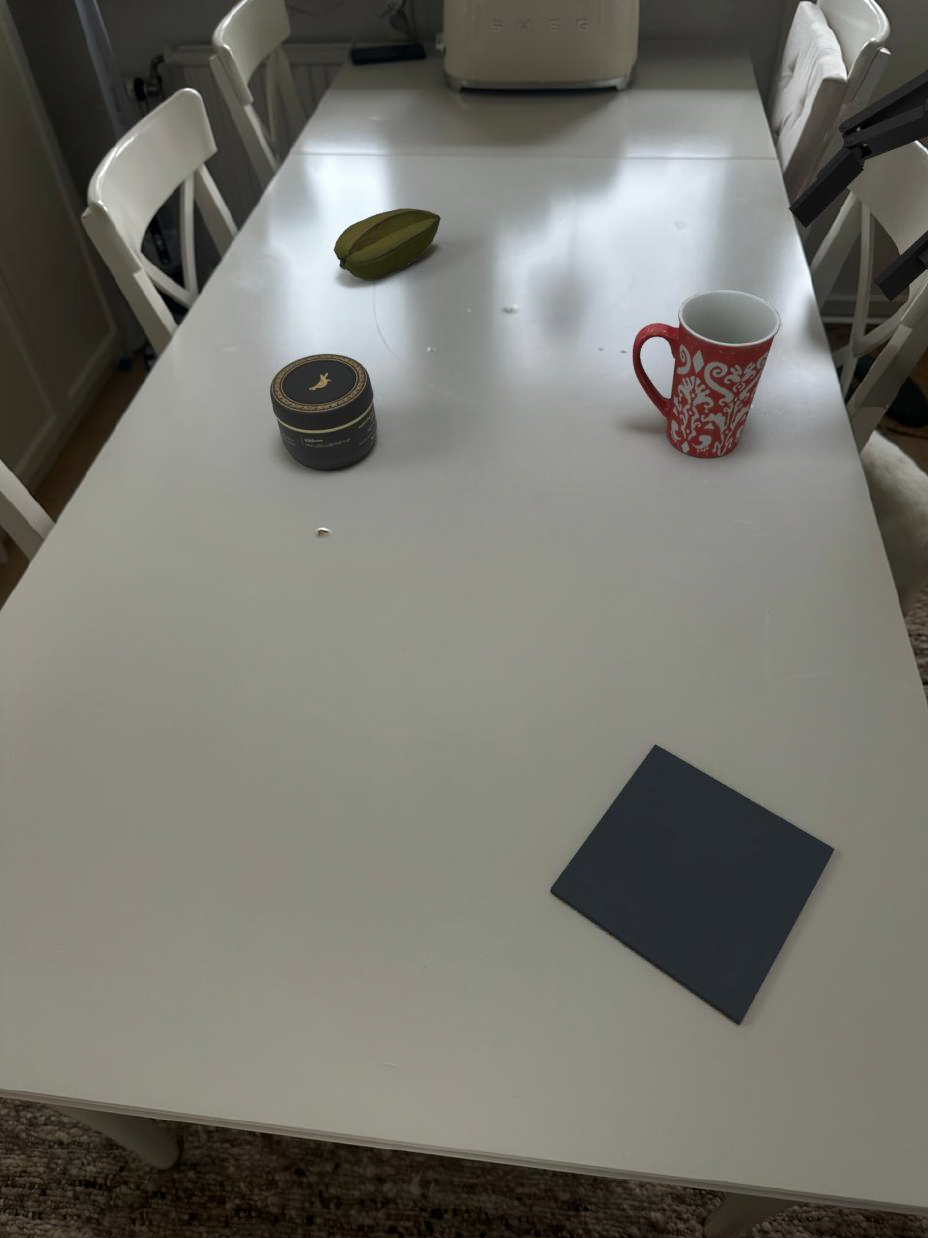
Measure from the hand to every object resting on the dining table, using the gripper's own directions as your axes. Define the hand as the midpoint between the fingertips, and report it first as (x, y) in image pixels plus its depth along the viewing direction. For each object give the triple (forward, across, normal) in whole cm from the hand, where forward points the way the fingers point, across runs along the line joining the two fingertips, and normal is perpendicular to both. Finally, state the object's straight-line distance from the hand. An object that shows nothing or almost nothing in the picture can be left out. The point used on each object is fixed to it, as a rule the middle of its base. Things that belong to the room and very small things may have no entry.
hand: (836, 253), depth 77 cm
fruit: (+35, +43, +11) cm, 56 cm away
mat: (+34, -43, +11) cm, 56 cm away
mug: (+20, 0, -4) cm, 21 cm away
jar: (+45, +11, +21) cm, 51 cm away
